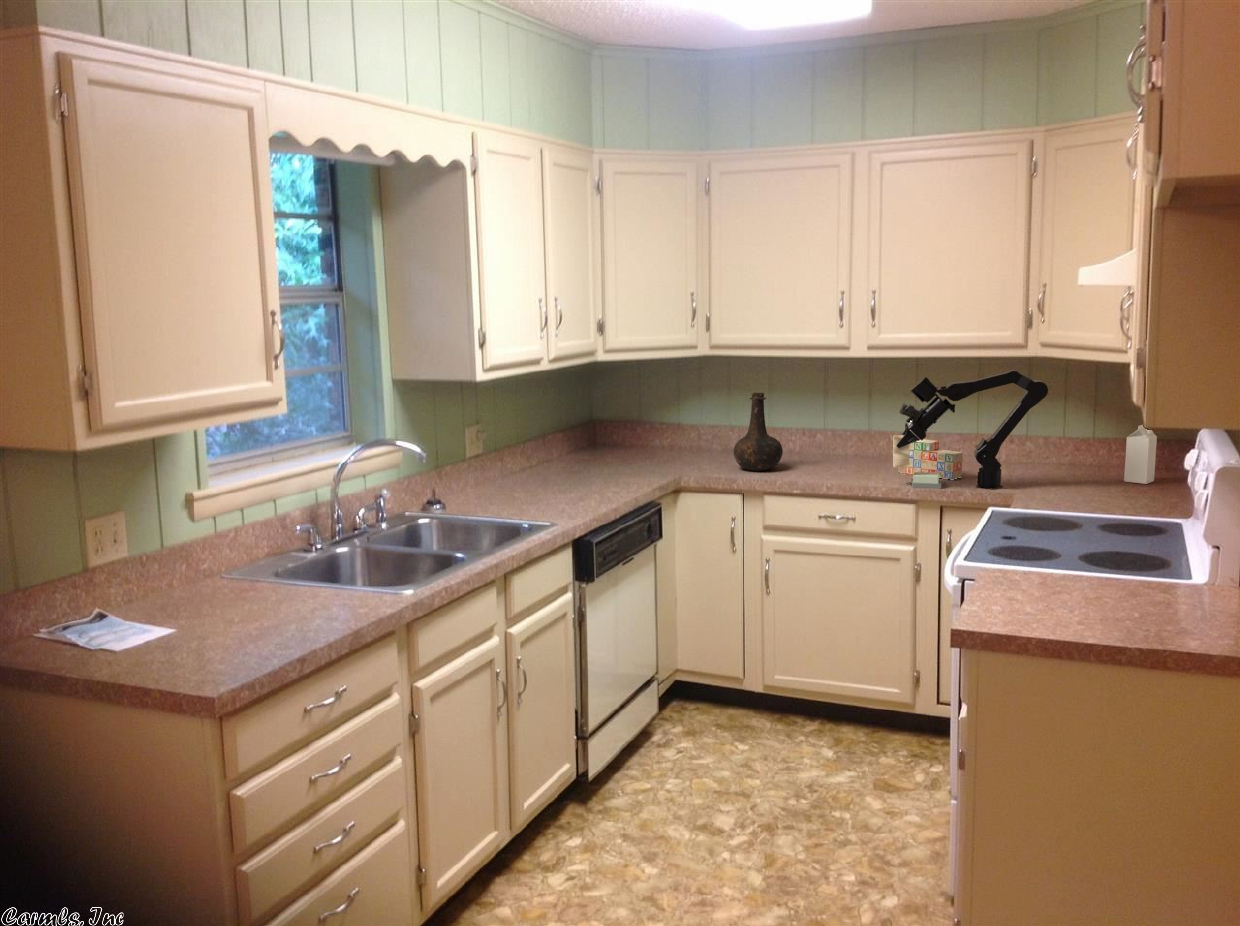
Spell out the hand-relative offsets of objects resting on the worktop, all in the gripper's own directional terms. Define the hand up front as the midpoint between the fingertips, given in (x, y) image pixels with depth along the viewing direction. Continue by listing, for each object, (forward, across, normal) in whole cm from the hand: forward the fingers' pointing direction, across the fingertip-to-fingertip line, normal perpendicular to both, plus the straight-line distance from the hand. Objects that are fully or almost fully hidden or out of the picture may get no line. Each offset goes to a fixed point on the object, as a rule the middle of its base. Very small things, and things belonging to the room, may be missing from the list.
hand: (897, 445), depth 357 cm
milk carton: (-45, -16, +66) cm, 81 cm away
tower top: (+2, 0, +15) cm, 15 cm away
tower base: (+3, 0, +16) cm, 17 cm away
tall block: (+4, 0, +6) cm, 7 cm away
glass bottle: (+43, -25, -25) cm, 56 cm away
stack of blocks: (+2, -19, +18) cm, 26 cm away
